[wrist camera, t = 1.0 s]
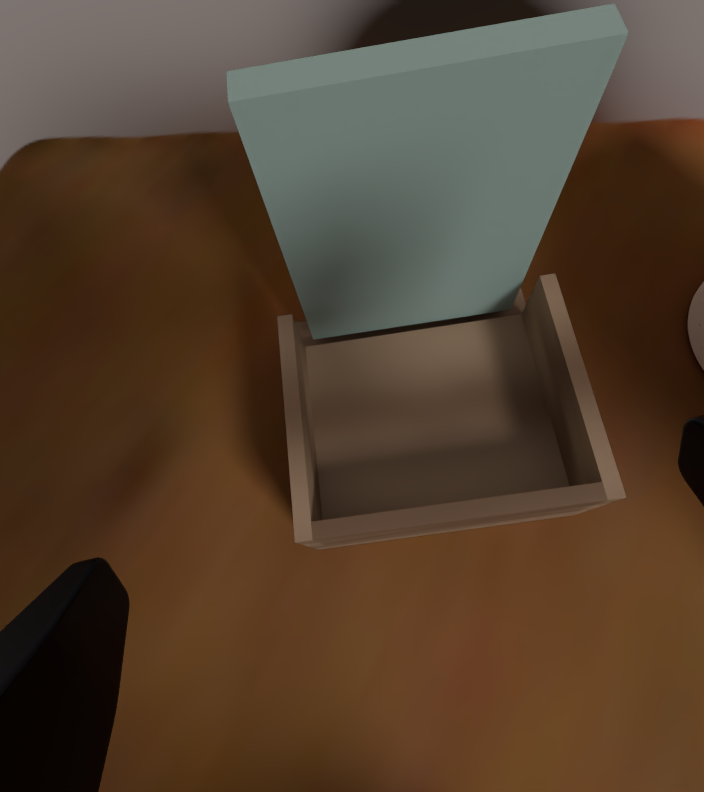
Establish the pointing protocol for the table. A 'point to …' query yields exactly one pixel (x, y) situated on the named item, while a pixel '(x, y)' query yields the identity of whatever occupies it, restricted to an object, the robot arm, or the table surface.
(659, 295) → the table surface
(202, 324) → the table surface
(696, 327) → the teacup with lid
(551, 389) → the tray
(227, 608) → the table surface
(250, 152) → the sage green panel
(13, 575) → the table surface
